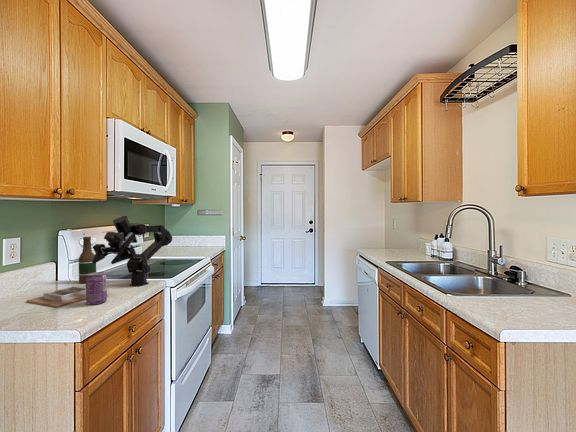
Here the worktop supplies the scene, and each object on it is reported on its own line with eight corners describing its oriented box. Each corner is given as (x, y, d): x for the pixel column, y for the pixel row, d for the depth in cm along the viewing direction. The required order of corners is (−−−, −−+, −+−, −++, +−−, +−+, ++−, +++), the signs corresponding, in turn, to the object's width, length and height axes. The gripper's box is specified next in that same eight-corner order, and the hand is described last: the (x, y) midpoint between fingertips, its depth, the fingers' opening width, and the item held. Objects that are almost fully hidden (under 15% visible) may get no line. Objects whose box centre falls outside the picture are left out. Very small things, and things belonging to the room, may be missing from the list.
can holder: (76, 290, 143) (76, 283, 143) (105, 294, 135) (105, 287, 135) (26, 302, 124) (26, 295, 124) (57, 307, 117) (57, 300, 117)
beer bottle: (85, 284, 154) (84, 237, 153) (75, 283, 157) (74, 237, 156) (99, 281, 161) (99, 236, 161) (89, 280, 164) (89, 235, 163)
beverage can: (103, 299, 128) (102, 271, 128) (109, 302, 123) (109, 273, 123) (83, 303, 122) (83, 273, 122) (89, 306, 118) (89, 276, 118)
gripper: (99, 226, 140) (74, 247, 127) (135, 227, 136) (113, 248, 123) (109, 246, 146) (86, 267, 133) (144, 246, 142) (124, 269, 129)
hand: (102, 263), depth 129 cm, fingers open, 9 cm apart
